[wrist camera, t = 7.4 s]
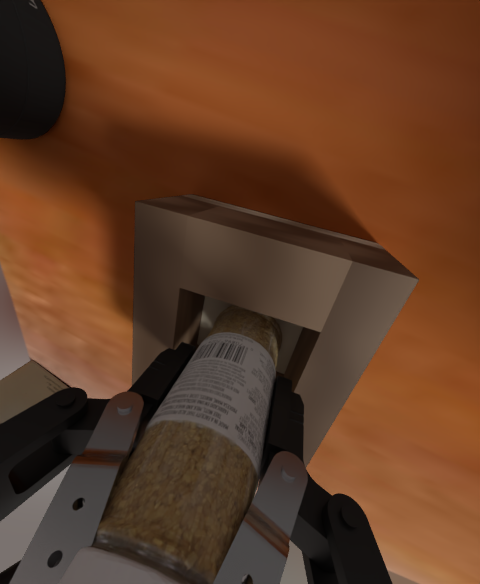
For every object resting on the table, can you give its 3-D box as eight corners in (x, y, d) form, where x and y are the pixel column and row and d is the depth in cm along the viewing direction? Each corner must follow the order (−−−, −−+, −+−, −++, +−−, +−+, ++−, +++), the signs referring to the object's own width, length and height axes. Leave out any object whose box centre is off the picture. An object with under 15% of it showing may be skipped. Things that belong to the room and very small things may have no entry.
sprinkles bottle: (212, 350, 17) (6, 719, 5) (218, 293, 15) (-85, 678, 3) (276, 368, 17) (198, 840, 5) (291, 310, 15) (221, 877, 3)
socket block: (378, 243, 15) (419, 279, 9) (302, 401, 21) (300, 476, 16) (191, 194, 16) (135, 201, 11) (172, 355, 22) (131, 409, 17)
